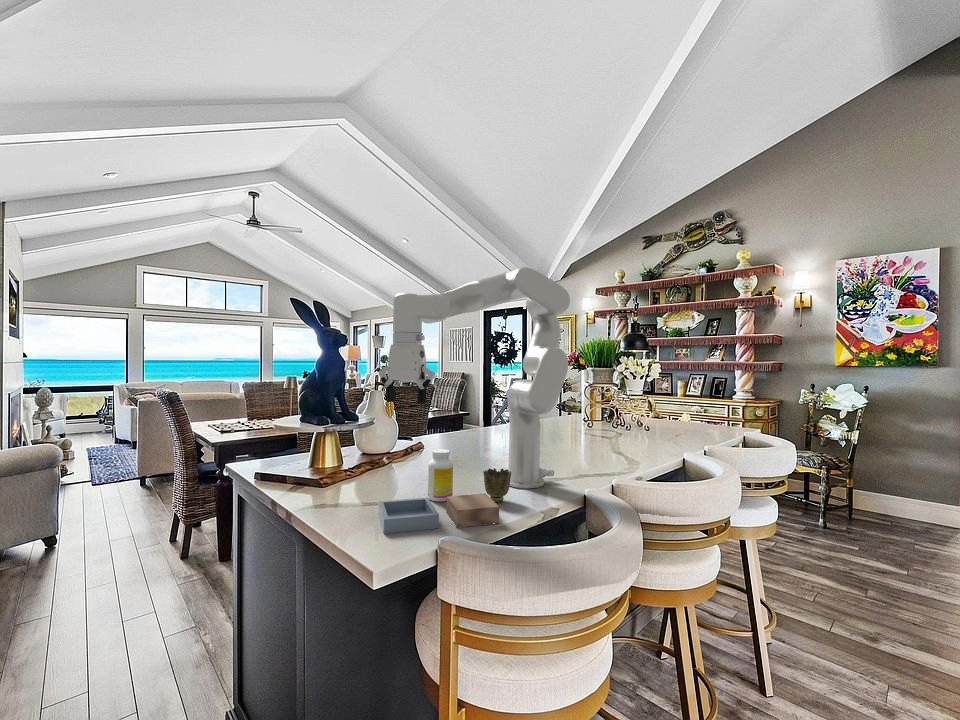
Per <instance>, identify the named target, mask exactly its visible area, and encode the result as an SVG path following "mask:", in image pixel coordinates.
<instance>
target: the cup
mask: <svg viewBox="0 0 960 720" xmlns="http://www.w3.org/2000/svg"><path fill="white" fill-rule="evenodd" d="M510 479H511V471H510V472H509V471H508V468H507V469H504V468H501V469H500V471H499V470H497V468H493V469H492V468H488V469H487V470H486V469H485V470H483V480H484V481H483V482H484V488H485V492H486V494H487V495H489V497H490V498H491V499H492V500H493V501H494V502H495V503H496V504H500V503H502V502H503V501H504V497H505V496H506V495H507V494H508V493H509V490H510V487H511V486H510ZM499 502H500V503H499Z"/></svg>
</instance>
